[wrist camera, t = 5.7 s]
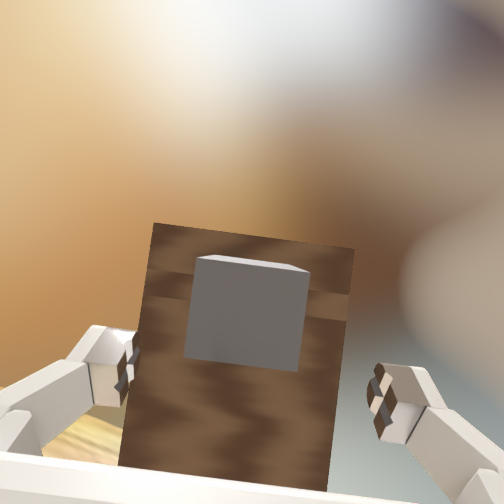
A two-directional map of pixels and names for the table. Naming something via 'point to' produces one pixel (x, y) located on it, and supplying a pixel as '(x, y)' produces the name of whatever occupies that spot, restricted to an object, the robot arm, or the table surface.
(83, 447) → the table surface
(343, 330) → the post
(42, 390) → the robot arm
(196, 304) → the grey stepped bar
